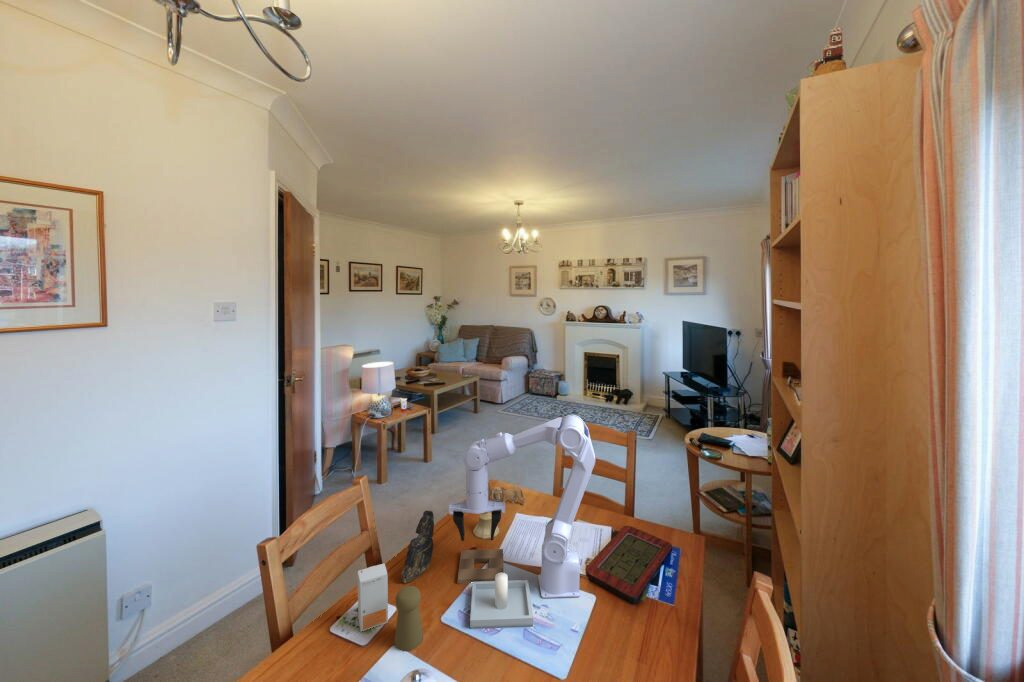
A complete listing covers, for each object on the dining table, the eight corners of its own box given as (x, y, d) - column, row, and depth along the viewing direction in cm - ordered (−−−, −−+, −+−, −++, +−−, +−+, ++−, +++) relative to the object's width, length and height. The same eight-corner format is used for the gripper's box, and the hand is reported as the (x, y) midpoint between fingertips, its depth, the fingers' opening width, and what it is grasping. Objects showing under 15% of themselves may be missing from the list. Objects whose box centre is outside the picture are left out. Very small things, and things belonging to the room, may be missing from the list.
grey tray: (528, 587, 99) (528, 580, 99) (532, 626, 87) (533, 618, 87) (472, 589, 98) (472, 581, 98) (470, 628, 86) (470, 620, 86)
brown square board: (502, 552, 112) (502, 549, 112) (504, 582, 100) (504, 578, 100) (461, 554, 112) (461, 550, 112) (457, 584, 100) (457, 579, 100)
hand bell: (484, 521, 129) (484, 475, 127) (504, 529, 124) (504, 481, 122) (467, 533, 122) (467, 484, 121) (488, 542, 117) (488, 492, 116)
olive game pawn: (415, 653, 80) (414, 604, 79) (389, 648, 81) (387, 599, 80) (427, 629, 86) (427, 583, 85) (402, 625, 87) (401, 579, 86)
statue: (394, 581, 101) (393, 526, 99) (425, 555, 111) (424, 505, 110) (411, 588, 98) (410, 532, 97) (440, 561, 109) (440, 510, 107)
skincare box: (360, 633, 85) (358, 582, 84) (358, 619, 88) (356, 570, 87) (389, 623, 87) (387, 573, 86) (385, 610, 91) (384, 562, 90)
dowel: (506, 599, 94) (507, 572, 93) (508, 608, 91) (508, 580, 90) (494, 600, 94) (494, 572, 93) (495, 609, 91) (495, 581, 90)
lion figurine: (496, 516, 131) (496, 491, 131) (487, 510, 136) (487, 485, 135) (528, 503, 141) (529, 479, 140) (519, 497, 145) (519, 474, 144)
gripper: (504, 481, 105) (504, 528, 106) (450, 482, 104) (451, 530, 106) (505, 493, 98) (505, 544, 99) (447, 495, 97) (448, 546, 99)
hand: (477, 538), depth 102 cm, fingers open, 7 cm apart
